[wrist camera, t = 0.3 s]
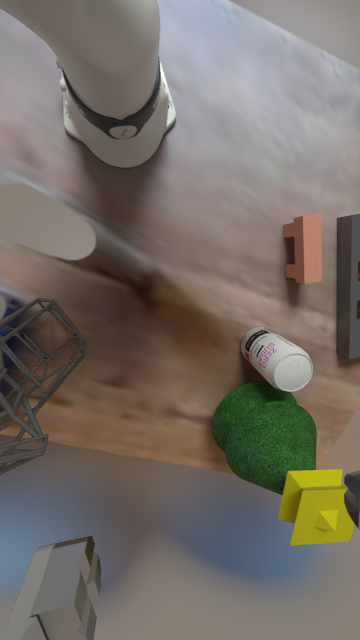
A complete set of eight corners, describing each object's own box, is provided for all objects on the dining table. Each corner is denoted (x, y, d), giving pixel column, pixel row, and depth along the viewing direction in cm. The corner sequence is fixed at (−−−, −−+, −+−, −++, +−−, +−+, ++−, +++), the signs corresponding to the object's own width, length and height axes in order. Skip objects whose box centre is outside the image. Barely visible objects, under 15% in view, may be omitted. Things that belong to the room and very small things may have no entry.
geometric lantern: (105, 342, 54) (36, 496, 21) (42, 381, 55) (-123, 591, 22) (56, 277, 50) (-134, 339, 16) (-12, 321, 51) (-327, 466, 17)
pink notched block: (282, 220, 53) (302, 216, 46) (299, 218, 53) (321, 213, 46) (285, 280, 56) (304, 284, 49) (301, 277, 56) (322, 280, 50)
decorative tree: (201, 441, 63) (249, 599, 34) (210, 367, 59) (274, 476, 30) (276, 440, 66) (379, 586, 37) (290, 369, 61) (420, 471, 33)
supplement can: (273, 359, 60) (313, 392, 46) (238, 361, 59) (268, 396, 45) (276, 325, 58) (319, 348, 44) (240, 326, 57) (272, 351, 43)
